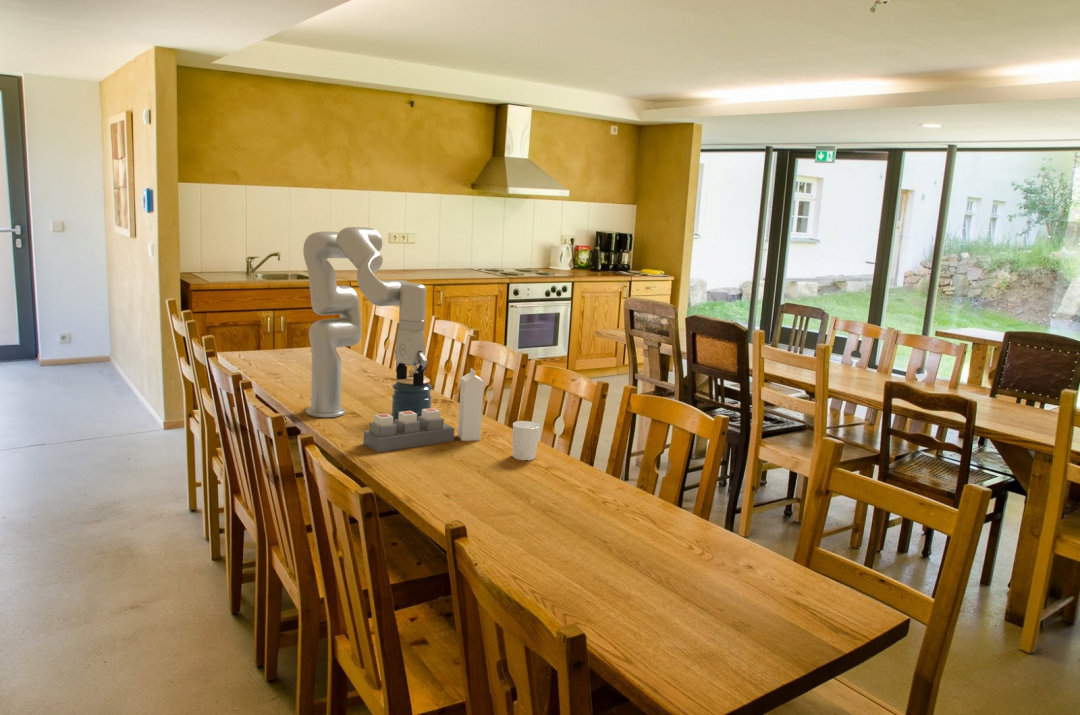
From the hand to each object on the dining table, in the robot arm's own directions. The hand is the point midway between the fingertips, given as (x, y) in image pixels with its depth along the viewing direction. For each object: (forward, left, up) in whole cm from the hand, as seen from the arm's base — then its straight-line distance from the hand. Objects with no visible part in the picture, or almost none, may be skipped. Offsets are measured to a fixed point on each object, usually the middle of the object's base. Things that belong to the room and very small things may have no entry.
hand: (409, 382), depth 227 cm
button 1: (0, -8, -12) cm, 15 cm away
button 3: (0, +8, -12) cm, 15 cm away
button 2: (0, 0, -12) cm, 12 cm away
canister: (-20, +13, -19) cm, 31 cm away
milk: (+4, +20, -19) cm, 28 cm away
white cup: (+27, +24, -19) cm, 41 cm away
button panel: (0, +1, -19) cm, 19 cm away
